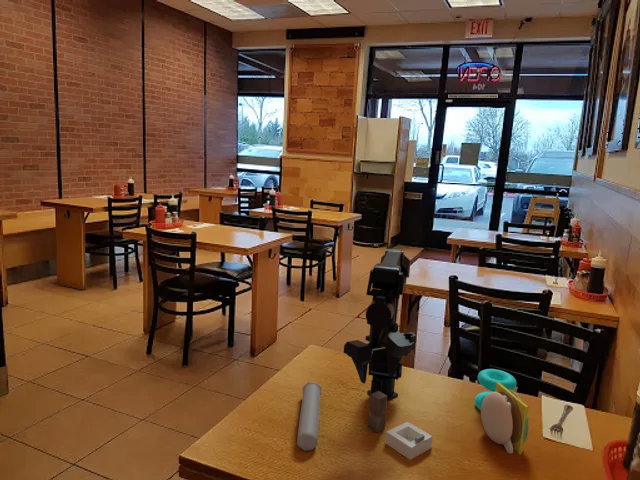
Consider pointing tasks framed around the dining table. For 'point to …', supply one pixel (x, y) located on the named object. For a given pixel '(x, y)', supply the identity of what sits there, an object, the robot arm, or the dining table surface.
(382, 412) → the dark brown wooden beam
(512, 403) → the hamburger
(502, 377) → the donuts
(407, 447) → the white square frame
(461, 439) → the dining table surface
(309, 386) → the tube
